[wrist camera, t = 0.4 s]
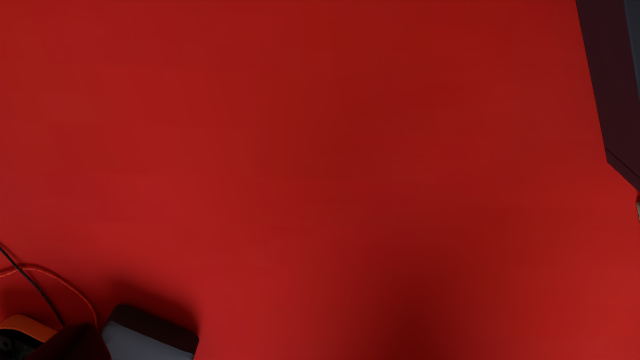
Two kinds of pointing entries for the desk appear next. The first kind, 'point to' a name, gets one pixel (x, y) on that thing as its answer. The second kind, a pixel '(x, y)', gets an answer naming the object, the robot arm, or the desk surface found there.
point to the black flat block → (118, 333)
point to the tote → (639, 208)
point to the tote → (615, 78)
